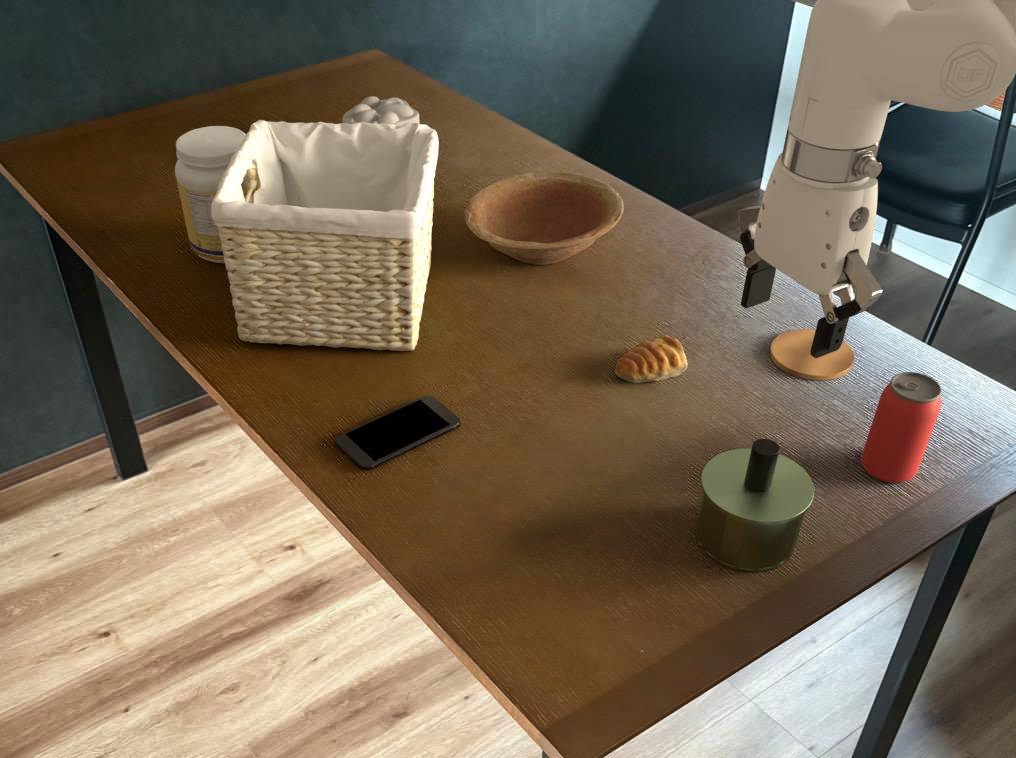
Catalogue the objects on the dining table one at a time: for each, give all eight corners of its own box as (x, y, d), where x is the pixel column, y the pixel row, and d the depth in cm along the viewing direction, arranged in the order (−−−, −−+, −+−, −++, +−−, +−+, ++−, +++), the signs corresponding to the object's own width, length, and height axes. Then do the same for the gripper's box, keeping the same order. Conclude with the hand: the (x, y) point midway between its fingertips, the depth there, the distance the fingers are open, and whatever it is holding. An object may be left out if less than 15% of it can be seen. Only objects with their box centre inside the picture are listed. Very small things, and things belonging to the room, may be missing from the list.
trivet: (863, 348, 147) (865, 343, 146) (837, 389, 140) (839, 384, 140) (786, 325, 151) (787, 320, 151) (757, 364, 144) (758, 359, 144)
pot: (807, 527, 122) (822, 476, 116) (773, 586, 115) (787, 535, 110) (718, 493, 126) (728, 443, 121) (680, 549, 119) (689, 498, 114)
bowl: (496, 203, 177) (497, 157, 172) (636, 229, 171) (641, 181, 166) (441, 273, 162) (440, 224, 156) (593, 303, 155) (597, 253, 150)
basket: (445, 258, 165) (441, 117, 150) (428, 359, 146) (422, 209, 130) (270, 253, 166) (249, 113, 151) (231, 352, 147) (202, 203, 132)
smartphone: (464, 425, 135) (464, 419, 134) (364, 474, 128) (364, 468, 128) (429, 397, 139) (429, 392, 139) (331, 443, 133) (330, 437, 132)
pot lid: (827, 479, 117) (840, 434, 113) (789, 544, 110) (801, 499, 106) (725, 443, 122) (734, 399, 117) (682, 504, 114) (690, 459, 110)
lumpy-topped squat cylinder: (426, 157, 190) (424, 108, 184) (358, 173, 186) (354, 123, 180) (402, 135, 197) (399, 87, 191) (335, 149, 192) (330, 101, 186)
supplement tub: (212, 222, 173) (192, 118, 161) (282, 232, 171) (267, 127, 159) (176, 260, 165) (153, 153, 153) (250, 271, 162) (232, 163, 151)
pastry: (632, 394, 140) (635, 369, 137) (603, 368, 144) (605, 344, 141) (690, 373, 143) (694, 348, 140) (660, 348, 147) (663, 324, 145)
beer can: (862, 445, 132) (887, 364, 124) (918, 456, 130) (948, 375, 122) (857, 478, 128) (883, 396, 119) (915, 491, 126) (945, 408, 118)
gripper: (940, 183, 86) (884, 361, 98) (792, 106, 97) (758, 276, 109) (871, 205, 83) (822, 386, 95) (727, 124, 94) (699, 296, 106)
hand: (788, 327), depth 102 cm, fingers open, 9 cm apart
